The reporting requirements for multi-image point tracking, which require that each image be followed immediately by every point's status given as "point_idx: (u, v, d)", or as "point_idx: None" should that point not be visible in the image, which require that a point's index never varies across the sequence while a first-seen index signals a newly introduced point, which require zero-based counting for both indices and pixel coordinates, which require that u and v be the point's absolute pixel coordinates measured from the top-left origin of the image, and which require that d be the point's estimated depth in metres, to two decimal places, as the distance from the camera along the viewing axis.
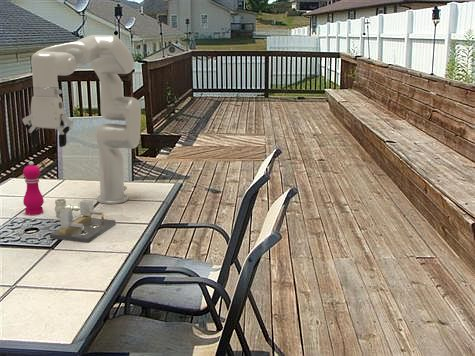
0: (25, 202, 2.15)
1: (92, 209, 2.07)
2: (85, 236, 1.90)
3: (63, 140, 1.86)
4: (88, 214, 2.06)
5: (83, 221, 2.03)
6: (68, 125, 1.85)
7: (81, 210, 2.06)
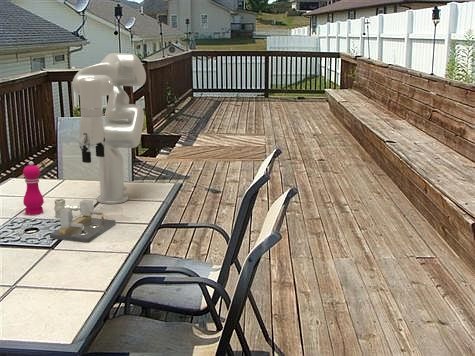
0: (25, 202, 2.15)
1: (92, 209, 2.07)
2: (85, 236, 1.90)
3: None
4: (88, 214, 2.06)
5: (83, 221, 2.03)
6: (104, 136, 2.14)
7: (81, 210, 2.06)
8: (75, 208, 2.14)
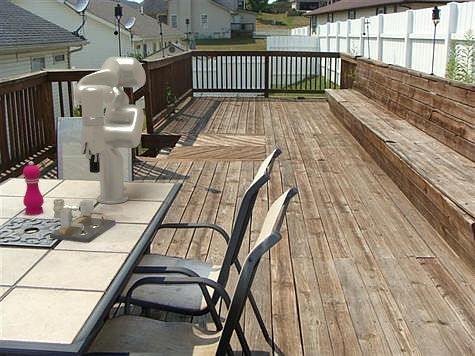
0: (25, 202, 2.15)
1: (92, 209, 2.07)
2: (85, 236, 1.90)
3: None
4: (88, 214, 2.06)
5: (83, 221, 2.03)
6: (100, 153, 2.12)
7: (81, 210, 2.06)
8: (74, 208, 2.14)
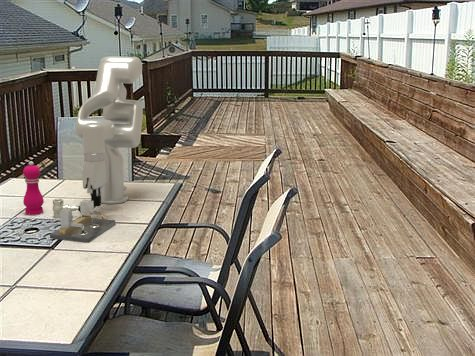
0: (25, 202, 2.15)
1: (92, 209, 2.07)
2: (85, 236, 1.90)
3: None
4: (88, 214, 2.06)
5: (83, 221, 2.03)
6: (101, 186, 2.15)
7: (81, 210, 2.06)
8: (73, 208, 2.14)
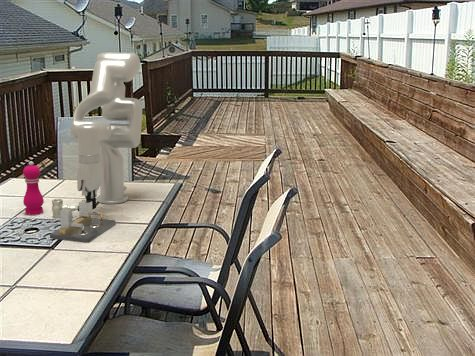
0: (25, 202, 2.15)
1: (91, 210, 2.06)
2: (85, 236, 1.90)
3: None
4: (87, 215, 2.05)
5: (83, 221, 2.03)
6: (97, 189, 2.12)
7: (80, 211, 2.05)
8: (73, 208, 2.14)
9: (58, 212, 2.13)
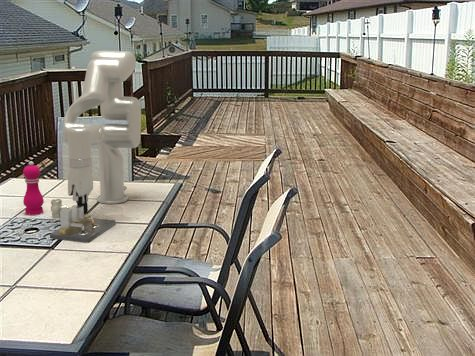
0: (25, 202, 2.15)
1: (82, 215, 2.00)
2: (85, 236, 1.90)
3: None
4: (78, 220, 1.99)
5: (83, 221, 2.03)
6: (88, 193, 2.06)
7: None
8: None
9: (57, 212, 2.13)
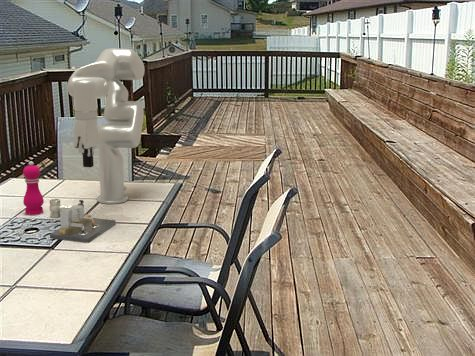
0: (25, 202, 2.15)
1: (82, 215, 2.00)
2: (85, 236, 1.90)
3: None
4: (78, 220, 1.99)
5: (83, 221, 2.03)
6: (94, 147, 2.07)
7: None
8: None
9: (56, 212, 2.13)
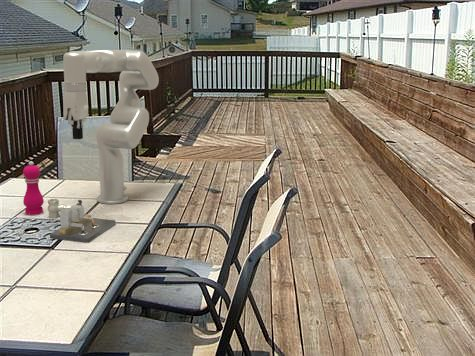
0: (25, 202, 2.15)
1: (82, 215, 2.00)
2: (85, 236, 1.90)
3: None
4: (78, 220, 1.99)
5: (83, 221, 2.03)
6: (83, 120, 2.12)
7: None
8: (69, 208, 2.14)
9: (54, 212, 2.13)
